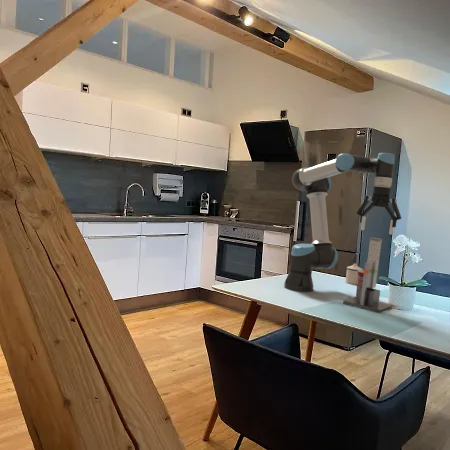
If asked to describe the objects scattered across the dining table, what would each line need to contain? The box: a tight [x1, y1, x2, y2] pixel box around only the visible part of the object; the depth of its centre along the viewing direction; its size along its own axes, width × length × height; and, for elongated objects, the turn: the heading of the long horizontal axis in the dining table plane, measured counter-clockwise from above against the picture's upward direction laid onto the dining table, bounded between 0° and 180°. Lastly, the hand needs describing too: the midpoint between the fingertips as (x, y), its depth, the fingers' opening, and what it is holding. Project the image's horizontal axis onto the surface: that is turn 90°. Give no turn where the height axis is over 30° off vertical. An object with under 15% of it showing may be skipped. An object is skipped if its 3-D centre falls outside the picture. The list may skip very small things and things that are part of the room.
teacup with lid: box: [345, 263, 363, 286], centre depth 273 cm, size 12×9×12 cm
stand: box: [342, 262, 393, 314], centre depth 215 cm, size 18×15×21 cm
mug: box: [355, 269, 374, 297], centre depth 236 cm, size 13×9×14 cm
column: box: [366, 237, 383, 289], centre depth 215 cm, size 5×5×23 cm
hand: (376, 232), depth 214 cm, fingers open, 13 cm apart
